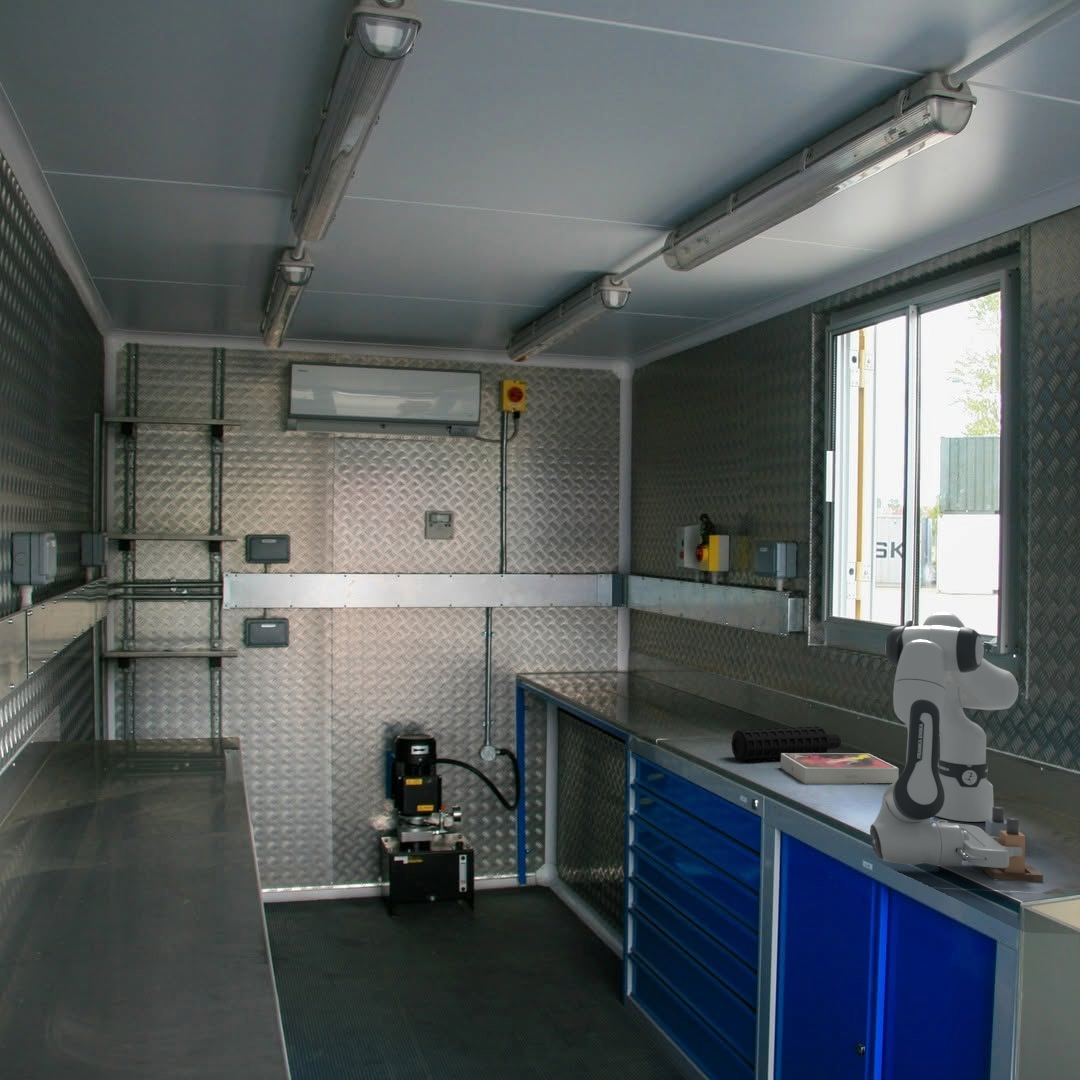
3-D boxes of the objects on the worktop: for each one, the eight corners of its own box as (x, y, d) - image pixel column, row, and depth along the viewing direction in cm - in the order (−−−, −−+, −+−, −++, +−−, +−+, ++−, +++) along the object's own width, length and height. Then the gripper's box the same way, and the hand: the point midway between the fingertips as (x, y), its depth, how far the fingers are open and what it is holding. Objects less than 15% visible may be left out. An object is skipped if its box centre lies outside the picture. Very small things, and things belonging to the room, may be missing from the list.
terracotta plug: (998, 872, 234) (999, 816, 234) (1017, 873, 234) (1019, 817, 234) (1005, 878, 230) (1006, 821, 230) (1024, 878, 230) (1025, 821, 230)
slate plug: (984, 858, 243) (985, 805, 243) (1003, 859, 243) (1004, 805, 243) (990, 864, 239) (992, 809, 239) (1009, 865, 239) (1010, 810, 239)
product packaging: (780, 769, 337) (780, 753, 337) (868, 769, 340) (868, 753, 340) (804, 785, 316) (805, 768, 316) (898, 785, 319) (898, 768, 319)
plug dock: (955, 845, 254) (956, 839, 254) (1000, 847, 254) (1000, 840, 254) (993, 880, 228) (993, 873, 228) (1042, 882, 228) (1043, 875, 228)
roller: (827, 747, 365) (833, 720, 362) (843, 761, 356) (850, 734, 353) (727, 752, 352) (732, 724, 349) (741, 767, 343) (747, 739, 340)
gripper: (965, 843, 223) (1035, 846, 222) (936, 817, 243) (1000, 820, 242) (964, 874, 223) (1034, 877, 222) (935, 846, 243) (999, 848, 242)
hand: (1016, 847), depth 232 cm, fingers closed on terracotta plug, 4 cm apart
